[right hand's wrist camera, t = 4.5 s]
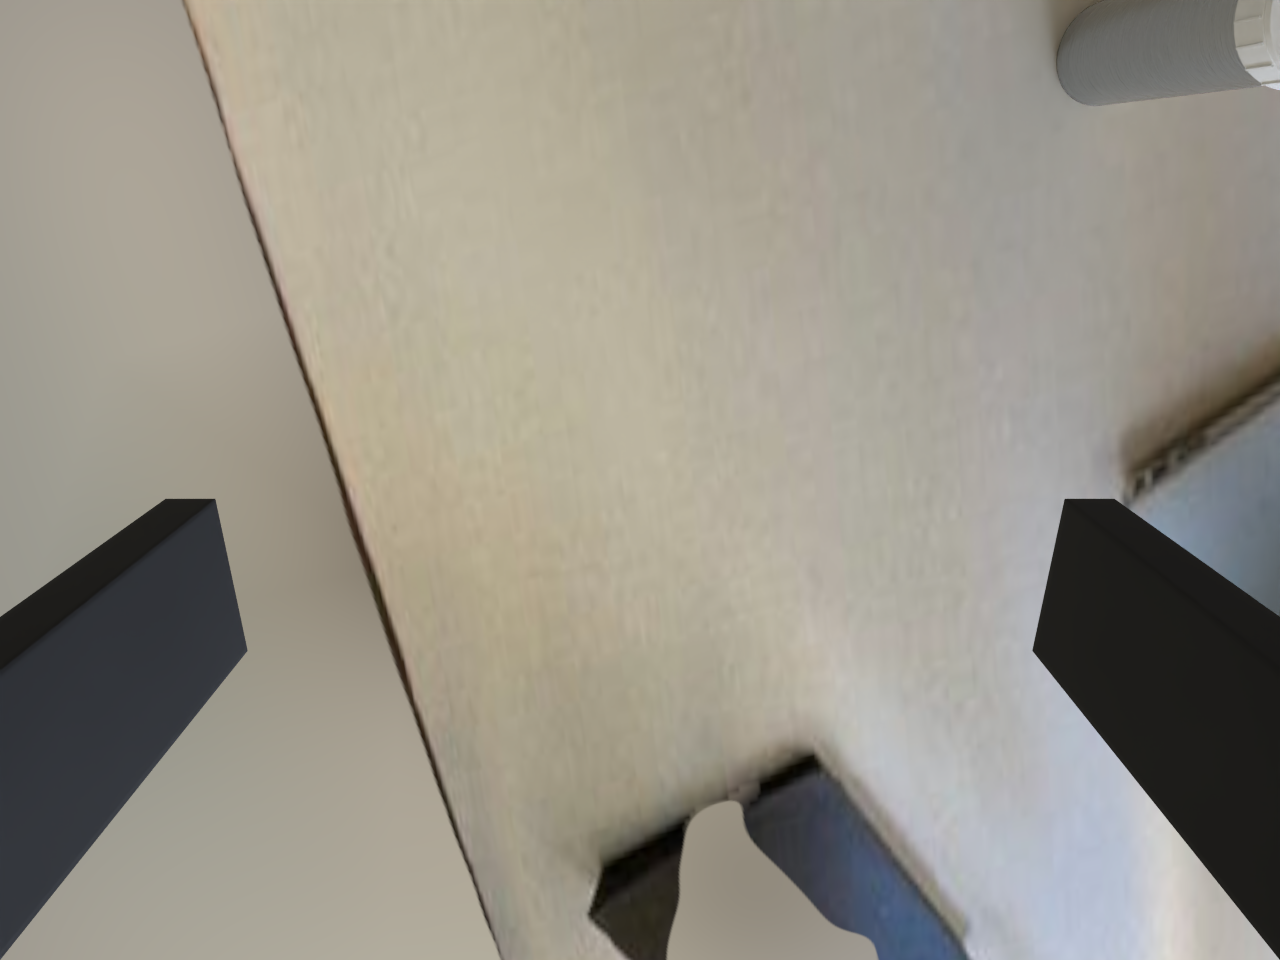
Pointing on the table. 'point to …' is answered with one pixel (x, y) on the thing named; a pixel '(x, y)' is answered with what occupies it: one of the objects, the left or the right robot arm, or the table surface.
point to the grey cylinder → (1151, 51)
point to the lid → (1259, 39)
